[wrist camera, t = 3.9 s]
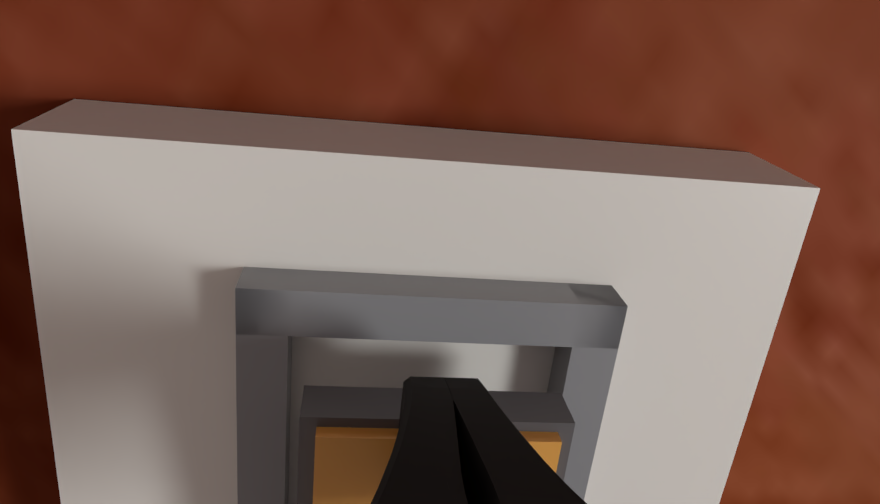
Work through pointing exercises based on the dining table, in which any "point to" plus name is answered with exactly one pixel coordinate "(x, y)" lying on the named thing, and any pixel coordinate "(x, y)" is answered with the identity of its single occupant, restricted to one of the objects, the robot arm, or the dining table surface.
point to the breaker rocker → (375, 430)
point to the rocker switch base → (389, 291)
